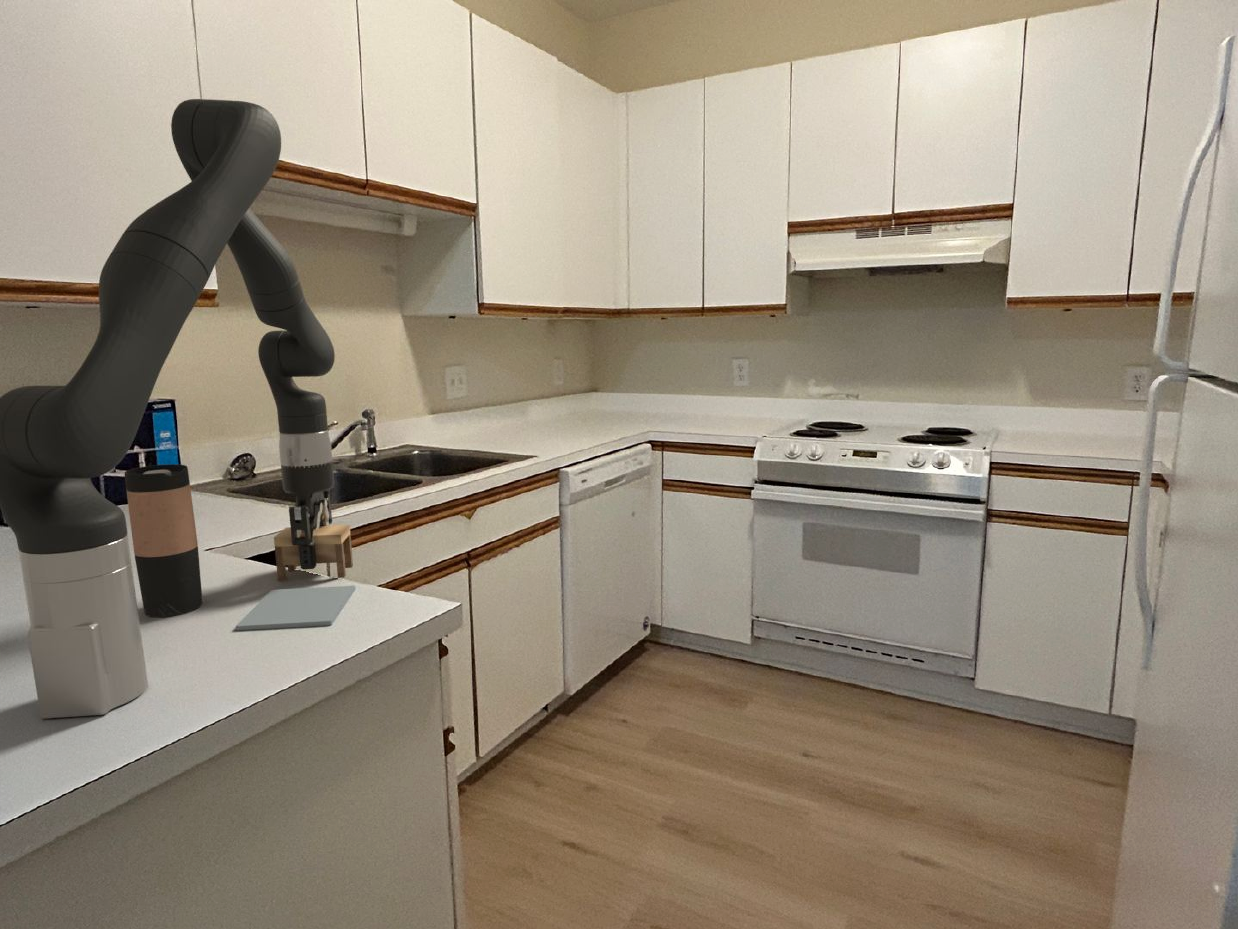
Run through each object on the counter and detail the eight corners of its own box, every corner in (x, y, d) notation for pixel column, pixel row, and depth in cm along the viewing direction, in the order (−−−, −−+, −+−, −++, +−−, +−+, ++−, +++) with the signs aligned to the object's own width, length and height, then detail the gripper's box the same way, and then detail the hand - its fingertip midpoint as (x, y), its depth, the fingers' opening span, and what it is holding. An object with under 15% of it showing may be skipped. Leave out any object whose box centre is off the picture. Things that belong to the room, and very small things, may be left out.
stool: (353, 565, 125) (349, 524, 124) (344, 577, 119) (340, 534, 118) (289, 568, 124) (285, 527, 123) (278, 580, 118) (273, 537, 117)
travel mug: (148, 602, 110) (130, 466, 106) (208, 595, 112) (192, 462, 109) (136, 621, 103) (116, 476, 99) (200, 613, 105) (183, 471, 102)
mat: (331, 625, 100) (331, 620, 100) (236, 630, 99) (235, 626, 99) (355, 589, 114) (355, 585, 114) (272, 593, 113) (271, 589, 113)
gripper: (319, 467, 112) (328, 574, 115) (342, 451, 126) (350, 547, 129) (265, 469, 111) (276, 576, 114) (295, 453, 125) (304, 549, 128)
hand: (315, 560), depth 122 cm, fingers open, 7 cm apart
